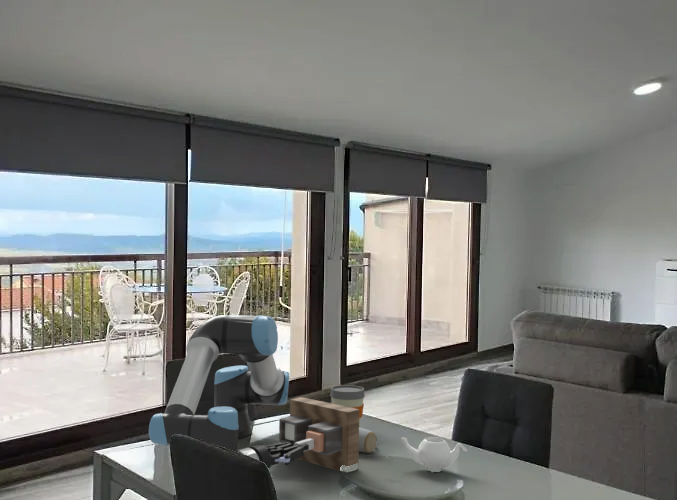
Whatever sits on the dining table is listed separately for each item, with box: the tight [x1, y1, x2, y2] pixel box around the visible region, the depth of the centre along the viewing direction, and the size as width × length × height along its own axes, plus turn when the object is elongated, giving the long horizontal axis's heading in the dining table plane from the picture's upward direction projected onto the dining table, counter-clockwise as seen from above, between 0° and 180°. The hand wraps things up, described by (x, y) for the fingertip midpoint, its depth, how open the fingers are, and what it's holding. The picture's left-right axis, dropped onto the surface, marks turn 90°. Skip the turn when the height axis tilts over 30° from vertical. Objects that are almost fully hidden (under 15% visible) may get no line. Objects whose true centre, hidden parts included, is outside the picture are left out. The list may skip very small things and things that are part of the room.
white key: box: [285, 423, 295, 440], centre depth 210 cm, size 5×4×5 cm
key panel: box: [278, 396, 360, 472], centre depth 209 cm, size 24×12×18 cm, turn 50°
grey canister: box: [359, 427, 378, 454], centre depth 225 cm, size 11×8×8 cm
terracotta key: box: [306, 430, 324, 452], centre depth 200 cm, size 5×4×5 cm
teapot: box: [400, 436, 469, 469], centre depth 206 cm, size 10×20×9 cm, turn 81°
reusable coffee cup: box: [329, 384, 365, 427], centre depth 250 cm, size 13×13×15 cm
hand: (312, 443), depth 198 cm, fingers closed
